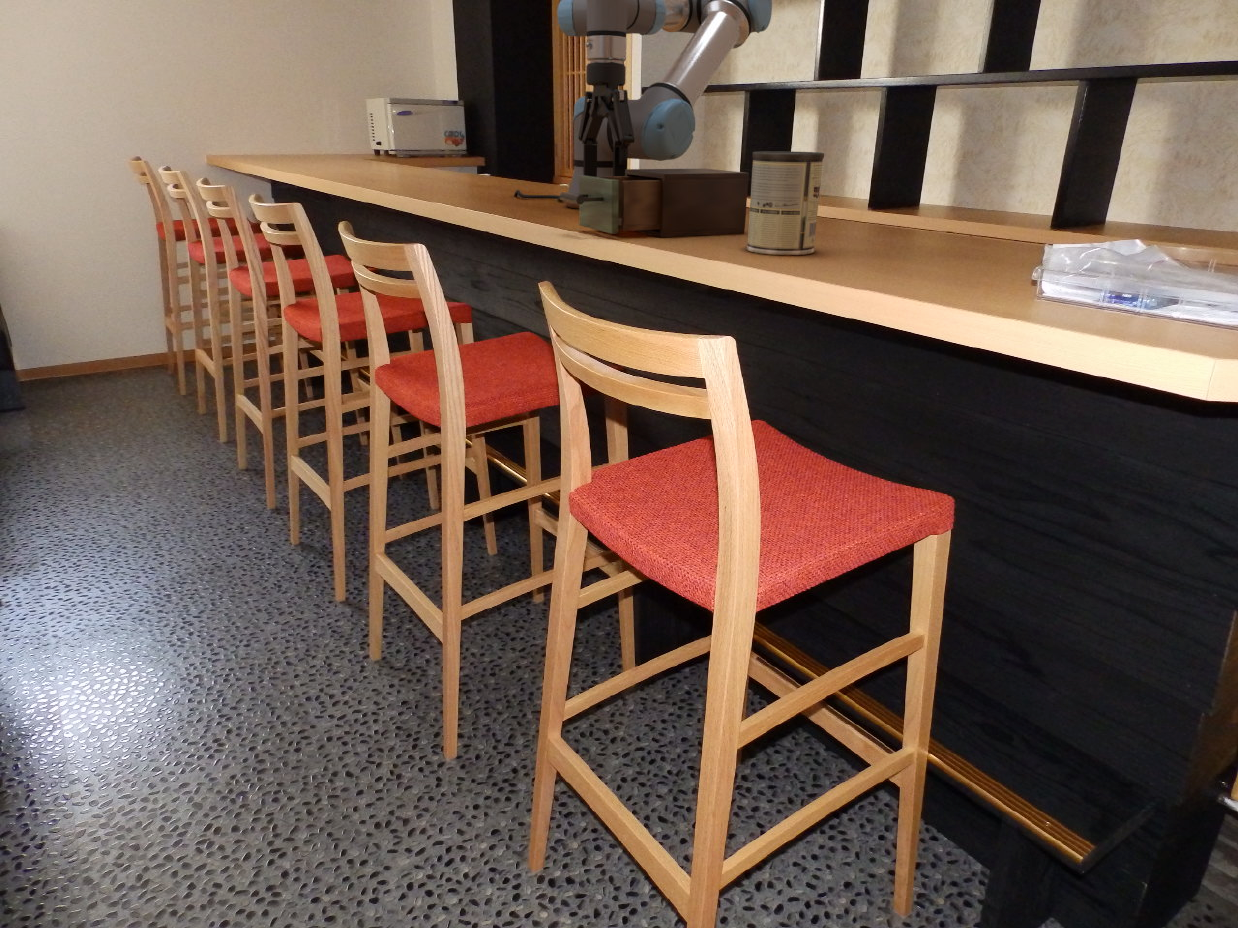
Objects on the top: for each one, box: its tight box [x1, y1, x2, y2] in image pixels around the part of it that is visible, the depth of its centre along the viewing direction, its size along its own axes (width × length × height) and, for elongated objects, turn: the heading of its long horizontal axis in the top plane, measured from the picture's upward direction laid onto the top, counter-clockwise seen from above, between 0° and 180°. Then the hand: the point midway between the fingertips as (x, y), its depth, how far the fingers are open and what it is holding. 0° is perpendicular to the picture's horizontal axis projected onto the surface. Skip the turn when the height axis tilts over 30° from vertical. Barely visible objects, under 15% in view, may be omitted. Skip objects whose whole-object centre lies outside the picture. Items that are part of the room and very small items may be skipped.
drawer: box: [559, 175, 662, 235], centre depth 143 cm, size 20×13×8 cm, turn 117°
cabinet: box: [625, 168, 750, 239], centre depth 148 cm, size 17×14×10 cm
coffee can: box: [746, 150, 825, 256], centre depth 125 cm, size 10×10×14 cm
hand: (604, 181), depth 167 cm, fingers open, 13 cm apart
